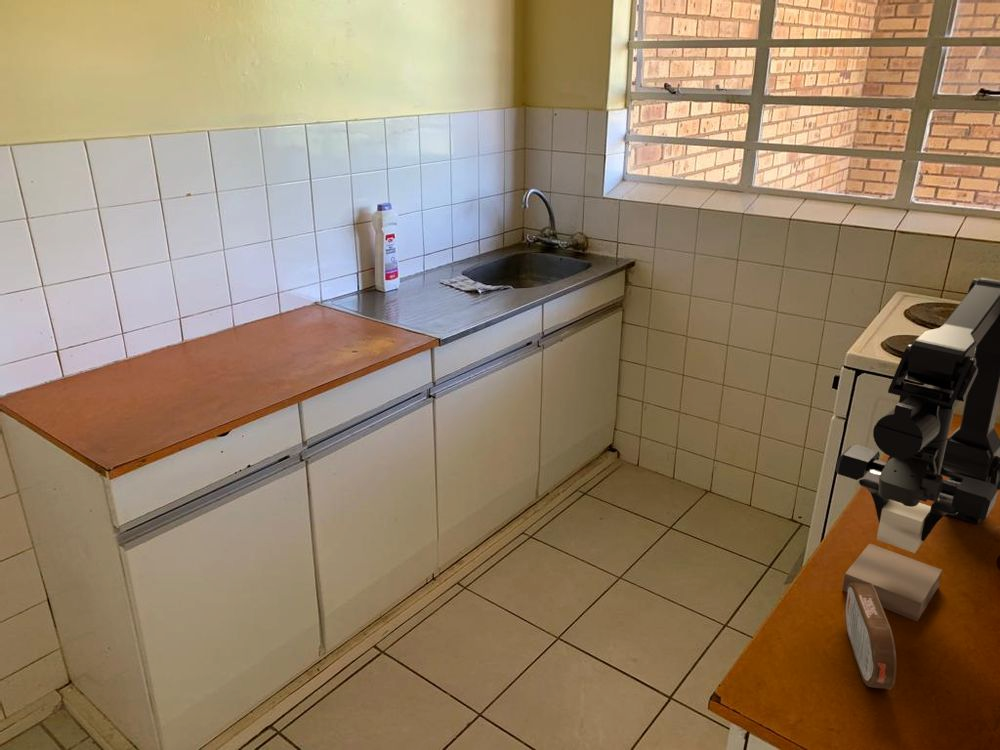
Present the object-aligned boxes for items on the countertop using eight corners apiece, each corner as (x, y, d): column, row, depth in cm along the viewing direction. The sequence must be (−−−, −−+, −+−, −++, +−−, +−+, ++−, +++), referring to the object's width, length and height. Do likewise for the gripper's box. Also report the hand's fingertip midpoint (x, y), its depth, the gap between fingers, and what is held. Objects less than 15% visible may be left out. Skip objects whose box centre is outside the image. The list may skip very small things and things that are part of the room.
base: (866, 559, 115) (869, 543, 114) (938, 587, 109) (942, 569, 108) (842, 590, 109) (845, 573, 107) (917, 621, 102) (921, 603, 101)
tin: (892, 705, 89) (905, 648, 86) (863, 701, 89) (875, 645, 86) (862, 621, 102) (872, 570, 99) (837, 618, 103) (846, 567, 100)
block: (888, 524, 109) (894, 494, 107) (925, 537, 106) (932, 506, 104) (876, 539, 106) (882, 508, 104) (914, 553, 102) (921, 521, 100)
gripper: (828, 432, 100) (813, 531, 106) (989, 478, 88) (961, 587, 94) (858, 406, 108) (842, 500, 113) (1010, 445, 96) (983, 548, 101)
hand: (902, 532), depth 105 cm, fingers closed on block, 5 cm apart
